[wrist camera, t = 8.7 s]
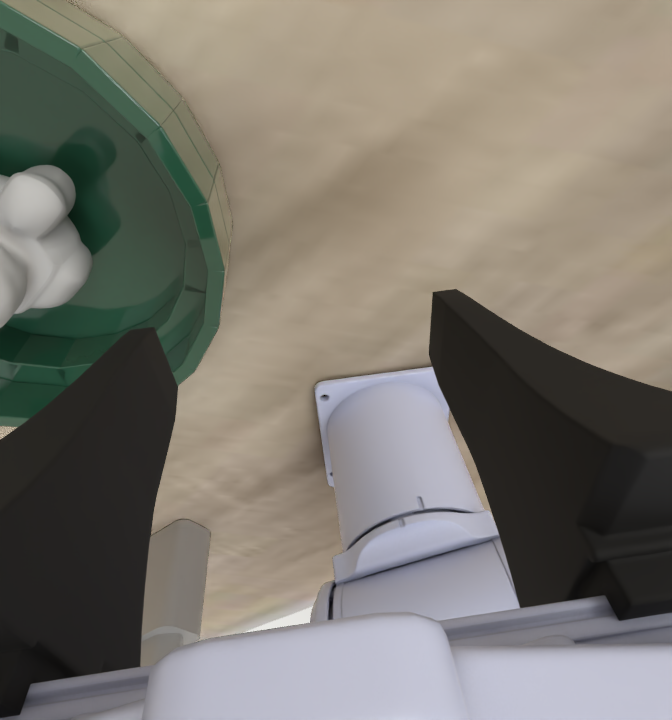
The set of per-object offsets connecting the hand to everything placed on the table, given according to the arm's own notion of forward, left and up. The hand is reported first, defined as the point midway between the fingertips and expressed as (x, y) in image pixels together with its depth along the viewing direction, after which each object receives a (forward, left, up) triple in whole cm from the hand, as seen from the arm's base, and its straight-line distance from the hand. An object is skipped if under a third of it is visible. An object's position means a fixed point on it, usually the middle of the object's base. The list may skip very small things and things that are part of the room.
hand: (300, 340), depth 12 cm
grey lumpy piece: (+1, +10, -10) cm, 14 cm away
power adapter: (-24, +12, -10) cm, 29 cm away
